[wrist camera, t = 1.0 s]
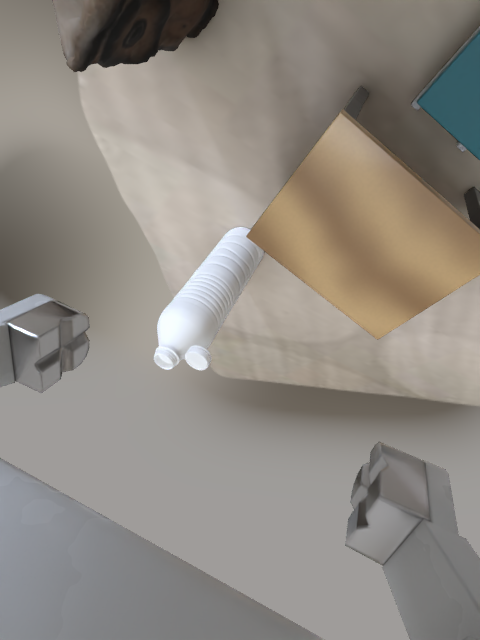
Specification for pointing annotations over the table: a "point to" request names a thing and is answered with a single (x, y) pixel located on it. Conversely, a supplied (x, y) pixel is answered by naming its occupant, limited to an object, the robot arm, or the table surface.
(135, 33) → the owl
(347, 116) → the desk
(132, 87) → the table surface
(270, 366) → the table surface
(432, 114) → the chair
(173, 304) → the water bottle
